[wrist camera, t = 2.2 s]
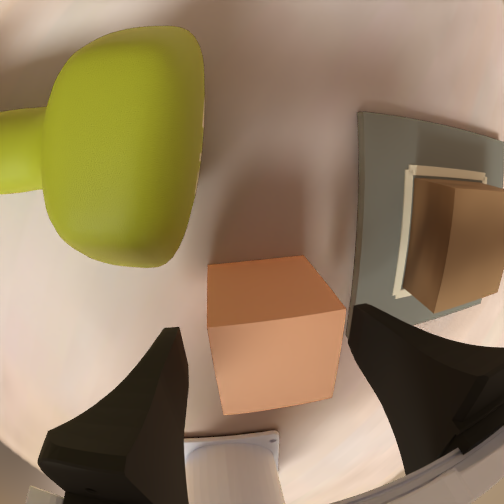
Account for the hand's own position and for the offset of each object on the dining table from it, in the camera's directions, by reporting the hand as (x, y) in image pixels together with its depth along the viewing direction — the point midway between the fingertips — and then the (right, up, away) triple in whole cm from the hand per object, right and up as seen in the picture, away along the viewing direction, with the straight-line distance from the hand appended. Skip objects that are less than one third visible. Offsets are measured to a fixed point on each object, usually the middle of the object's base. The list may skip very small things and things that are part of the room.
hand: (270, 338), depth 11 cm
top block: (0, +1, +3) cm, 3 cm away
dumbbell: (-11, +8, -1) cm, 14 cm away
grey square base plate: (+10, +5, +3) cm, 12 cm away
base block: (+10, +5, +2) cm, 12 cm away
